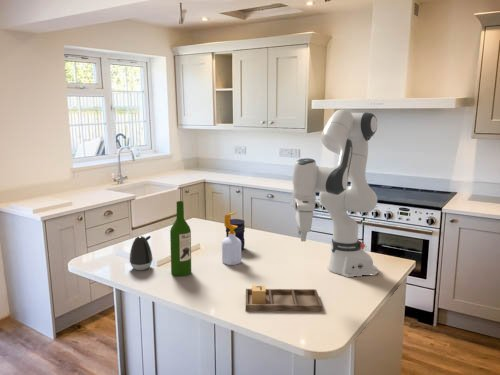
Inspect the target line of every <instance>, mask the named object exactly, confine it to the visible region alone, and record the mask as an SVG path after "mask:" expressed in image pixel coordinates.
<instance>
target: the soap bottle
mask: <svg viewBox="0 0 500 375" xmlns="http://www.w3.org/2000/svg"><path fill="white" fill-rule="evenodd" d="M235 214H237V211H235V212H230V213H228V214H225V216H224V227H225V229H226V228H229V229H230V232H228V237H227V238H226V237H225V238H224V239H223V240H222V242H221V244H222V246H221V247H222V249H221V251H222V252H221V253H222V255H221V261H222V263H223V264H225V265H228V266H237V265H239V264H241V263H242V251H241V240H240V239H238V238H237V237H236V236H235V232H234V229H235V228H237V227H238V226H235V225H231V224H230V219H231V216H232V215H235Z"/></svg>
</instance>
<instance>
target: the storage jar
mask: <svg viewBox="0 0 500 375" xmlns="http://www.w3.org/2000/svg"><path fill="white" fill-rule="evenodd" d="M230 224H231V225H235V226H238V227H237V228H235V229H234V232H235V236H236V237H237V238H238V239H240V240H241V252H243V251H245V228H246V226H245V220H243V219H239V218H230ZM225 232H226V235H225V236H226V237H225V238H227V237H228V232H230V229H229V228H226V227H225Z"/></svg>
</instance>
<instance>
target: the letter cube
mask: <svg viewBox="0 0 500 375" xmlns="http://www.w3.org/2000/svg"><path fill="white" fill-rule="evenodd" d="M251 289H252V303H254V304H265V297H266V290H265V289H266V285H257V284H256V285H255V284H254V285H253V284H252V285H251Z"/></svg>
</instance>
